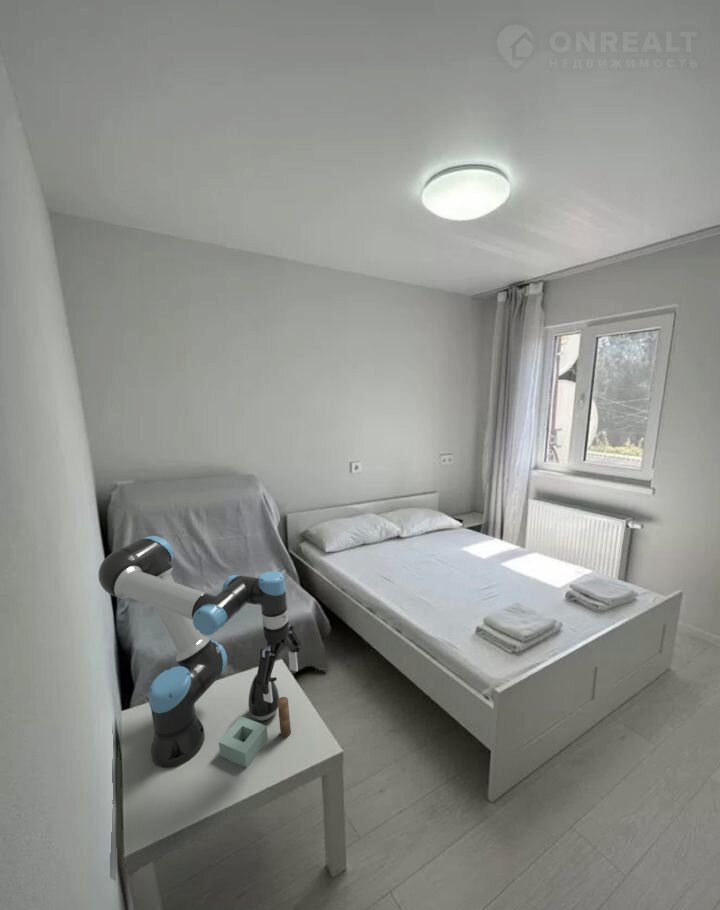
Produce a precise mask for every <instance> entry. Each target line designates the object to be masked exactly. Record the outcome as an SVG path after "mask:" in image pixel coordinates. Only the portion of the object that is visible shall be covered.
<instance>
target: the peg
mask: <svg viewBox="0 0 720 910" xmlns="http://www.w3.org/2000/svg"><path fill="white" fill-rule="evenodd" d="M277 711H278V719H279V720H278V721H279V729H280V731H279V732H280V736H281V738H282V739H283V738H285V739H286V738H289V737H290V736H291V734H292V730H291V729H292V728H291V720H290V719H291V718H290V708H289V698H288V697H286V696H281V697H279V700H278V708H277Z"/></svg>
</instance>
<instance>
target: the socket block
mask: <svg viewBox="0 0 720 910" xmlns="http://www.w3.org/2000/svg"><path fill="white" fill-rule="evenodd" d="M268 740H269V737H268V728H267V725H265V724H263V723H260V722H257V721H255V720H252V719H249V718H247V717H244V716H240V717H239V718H238V719H237V720H236V721H235V723H234V724H233V725H232V726H231V727H230V728H229V730H228V731H227V732H226V733H225V734H224V735H223V736H222V737H221V739H220V740H219V741H218V746H219V747H218V748H219V756H220V757H221V758H223V759H226V760H229V761H230V762H233V763H235V764H237V765H240V766H242V767H244V768H247V769H248V768H249V766H250V765H251V763H252V762H253V761H254V759H255V757H256V756H257V755H258V753H259V752H260V750H262V748H263V747H264V746H265V744H266V743H267V741H268Z"/></svg>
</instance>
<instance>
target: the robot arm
mask: <svg viewBox="0 0 720 910" xmlns="http://www.w3.org/2000/svg"><path fill="white" fill-rule="evenodd" d="M173 560H174V550H173V548H172V546H171V544H170V542H168V541H167V540H166V539H165V538H163V537H160V536H158V535H149V536H147V537H144V538H141V539H139V540H136V541H135V542H133V543H130V544H129V545H126V546H124V547H122V548H120V549H118V550H115V551H113V552H111V553H110V554H109V555H107V557H105V558H104V559H103V561H102V562H101V564H100V566H99V570H98V583H100V586H101V587H102V589H103V590H104V591H105V592H106V593H107V594H108V595H111V596H113V597H115V598H118V599H123V600H124V599H127V598H130V599H132V600H136V601H138V602H142V603H144V604H147V605H150V606H152V607H154V610H155V611H156V613H157V615H158V617H159V619H160V621H161V623H162V624H163V627H164V629H165V630H166V632H167V634H168V636H169V638H170V640H171V642H172V644H173V645H174V647H175V649H176V652H177V655H176V658H175V662H176V663H177V665H178V666H173V667H171V668H170V669H166V670H164V671H162V672H161V673H159V675H157V677H155V679H154V680H153V681H152V683H151V685H150V687H149V691H148V697H149V698H148V699H149V700H148V702H149V703H148V704H149V707H150V710H151V717H152V722H153V729H154V732H153V733H154V734H153V740H152V742H151V747H150V753H151V759H152V762H153V763H154V764H155V765H156V766H157V767H160V768H164V769H167V768H168V769H169V768H170V769H171V768H174V767H178V766H181V765H182V764H185V763H186V762H188V761H189V760H190V759H192V758H193V757H194V756H195V755H197V754H198V752H199V751H201V750H200V749H201V748H202V746H203V745H204V742H205V736H206V735H205V728H204V725H203V723H202V722H201V720H200V719H199V717H198V716H197V714H196V707H195V704H196V702H198V701H199V699H200V698H201V697H202V696H203V695H204V694H205V693H206V692H207V691H208V690H209V689H210V688H211V686H212V685H214V683H215V682H217V681H218V680H219V678H220V677H221V676H222V674H223V673H224V672H225V670H226V668H227V664H228V655H227V652H226V650H225V648H224V646H223V645H222V644H221V643H219V642H218V641H216V640H213V639H212V640H211V638H210V637H208V636H210V635H213V634H214V633H216V632H218V631H219V630H220V629H221V628H223V627H224V626H225V624H227V623H228V622H229V620H231V619H232V618H233V617H234V616H235V615H236V614H237V613H239V612H240V610H242V609H243V608H244V607H245V606H247V604H248V605H249V604H251V605H255V606H256V605H258V606H259V605H260V608H261V609H260V610H261V617H262V619H261V620H262V625H263V635H264V639H265V640H266V643H267V645H266V648H261V649H260V651H259V663H258V668H257V673H256V675H257V678H256V683H255V685H256V686H259V687H262V693H263V697H264V701H267V702H270V703H272V702H273V697H272V687H271V682H270V681H269V680H270V677H272V676H271V675H272V673H273V669H274V666H275V663H276V660H277V659H278V658H279V654H280V653H281V652H282V651H283V649H285V648H287V649H289V651H288V652H287V653H288V663H289V670H290V671H294V672H298V671H299V665H298V652H300V650H301V648H300V646H301V640H300V639H299V637H298V636H297V633H295V632H296V631H295V630H294V629H295V628H294V626H293V625H290V623H289V615H288V604H287V586H286V581H285V576H284V574H283V573H282V572H280V571H277V570H273V571H266V572H264V573H262V574H261V575H260V576H259V577H253V576H249V575H248V576H247V575H242V574H240V575H239V574H238V575H235V574H232V575H230V576H228V577H227V578H226V579H225V581H224V582H223V584H222V587H221V588H222V589H221V591H220V592H218V593H217V594H216V595H213V594H210V593H207V592H203V591H201V590H198V589H194V588H191V587H189V586H186V585H183V584H179V583H177V582H175V580H174V578H173V576H172V572H173V569H174V567H173V565H172V564H171V563H172V561H173ZM288 639H289V640H288ZM272 654H273V655H272Z"/></svg>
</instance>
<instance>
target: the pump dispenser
mask: <svg viewBox="0 0 720 910" xmlns="http://www.w3.org/2000/svg"><path fill="white" fill-rule="evenodd" d="M256 678H257V674H256V675H255V676H254V677H253V678H252V679H253V680H252V682H251V684H250V689H249V694H248V705H247V707H248V711H249V714H250V715H251V716H252V717H253V718H254V719H256V720H257V721H266V720H269V719H271V718H272V717H274V715H275V714H276V713H277V711H278V700H279V698H280V695H279V691H278V687H277V685H276V683H275V681H277V679H278V678H277V676H275V677H272V676H271V677H270V680H269V681H270V682H271V687H272V697H273V702H272V703H270V702H267V701H264V697H263V693H262V687H259V686H256V685H255V683H256Z"/></svg>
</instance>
